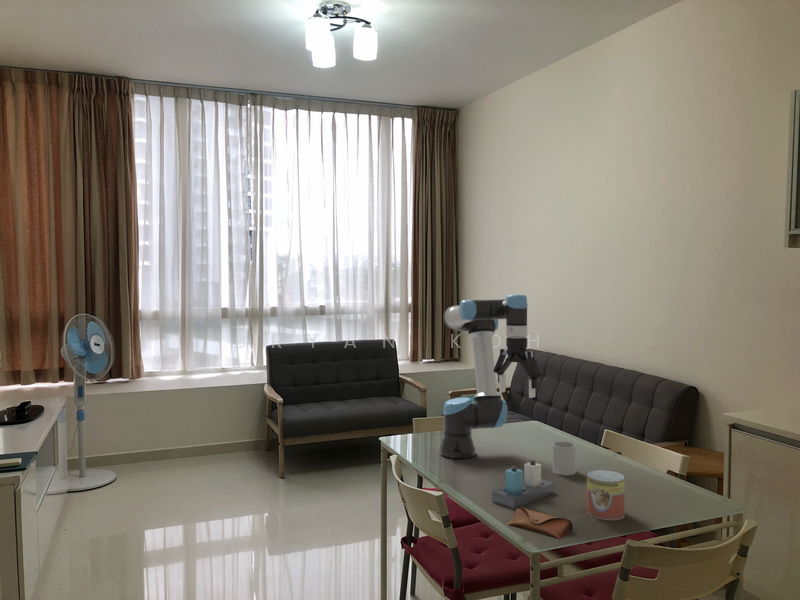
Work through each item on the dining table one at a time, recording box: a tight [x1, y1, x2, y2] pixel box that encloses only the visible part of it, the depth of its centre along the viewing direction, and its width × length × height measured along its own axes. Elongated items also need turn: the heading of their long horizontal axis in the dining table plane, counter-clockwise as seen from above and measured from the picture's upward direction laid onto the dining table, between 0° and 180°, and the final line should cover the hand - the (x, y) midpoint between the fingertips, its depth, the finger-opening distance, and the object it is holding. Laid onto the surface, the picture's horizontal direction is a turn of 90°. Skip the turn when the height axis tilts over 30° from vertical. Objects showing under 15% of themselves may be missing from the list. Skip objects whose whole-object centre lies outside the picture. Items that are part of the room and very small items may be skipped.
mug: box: [552, 440, 577, 476], centre depth 228 cm, size 12×8×11 cm
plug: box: [504, 465, 524, 495], centre depth 197 cm, size 4×4×11 cm
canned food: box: [586, 469, 626, 521], centre depth 187 cm, size 11×11×12 cm
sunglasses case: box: [507, 506, 573, 540], centre depth 177 cm, size 18×7×7 cm
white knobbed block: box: [523, 459, 542, 488], centre depth 203 cm, size 4×4×11 cm
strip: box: [491, 478, 555, 510], centre depth 200 cm, size 22×9×4 cm, turn 131°
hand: (516, 394), depth 218 cm, fingers open, 13 cm apart
